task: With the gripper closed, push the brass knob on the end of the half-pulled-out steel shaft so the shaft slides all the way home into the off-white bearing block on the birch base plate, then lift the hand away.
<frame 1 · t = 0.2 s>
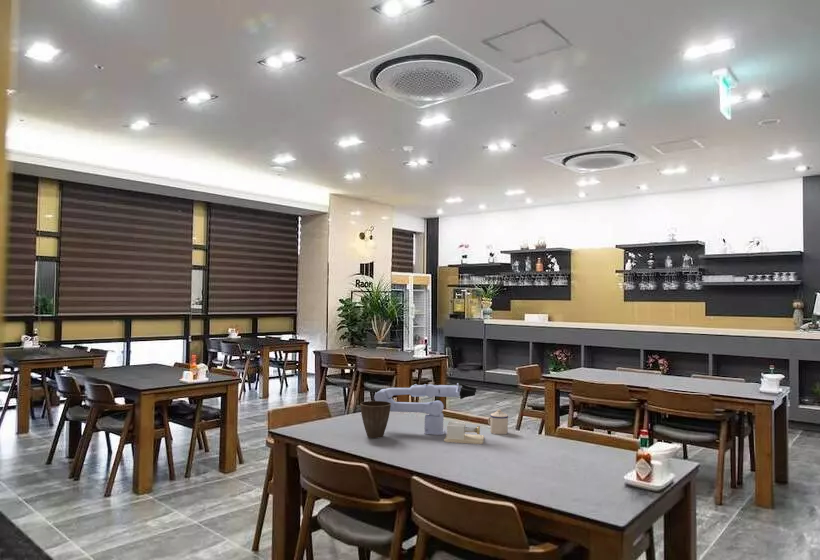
hand: (475, 391, 284), 22 cm above the table, tool horizontal, fingers open, 7 cm apart
bearing block: (456, 439, 275), on the table
shaft: (466, 429, 274), point 5 cm above the table, slide at 5.0 cm
plant pot: (374, 437, 277), on the table
teacup with lid: (496, 432, 291), on the table
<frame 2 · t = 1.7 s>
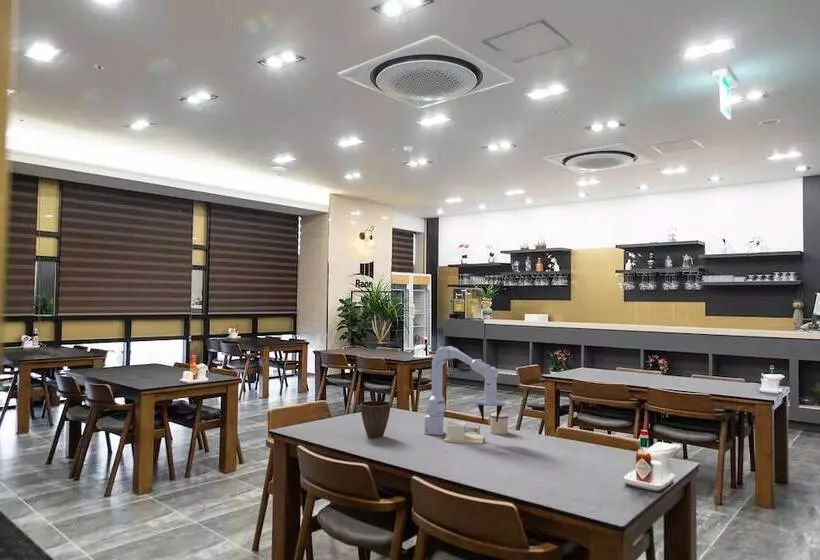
hand: (489, 421, 273), 9 cm above the table, tool pointing down, fingers open, 6 cm apart
nothing on the table moved.
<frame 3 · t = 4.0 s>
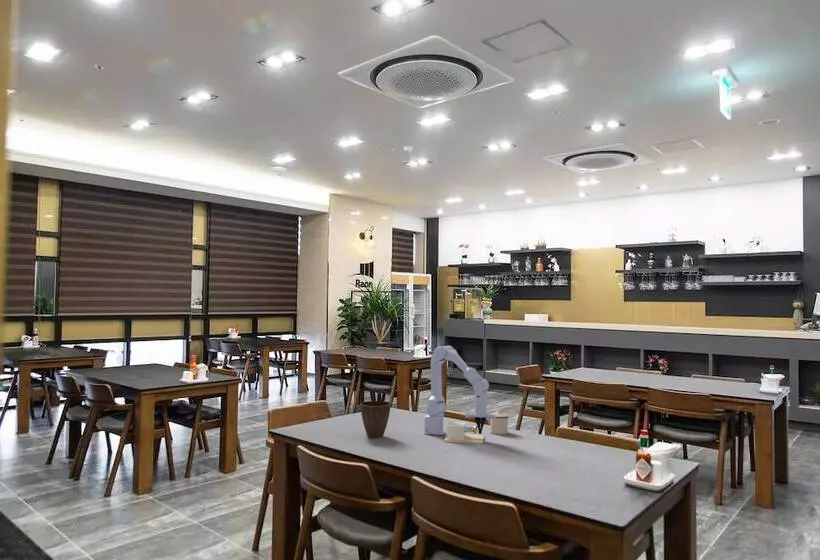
hand: (480, 433, 273), 3 cm above the table, tool pointing down, fingers closed
shaft: (464, 429, 275), point 5 cm above the table, slide at 3.7 cm, touching gripper
everything else where it was.
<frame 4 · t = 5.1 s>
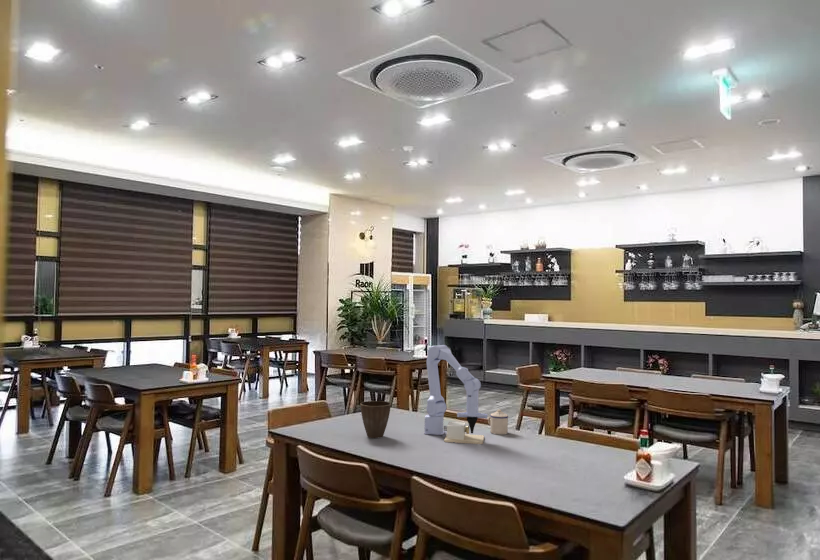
hand: (472, 432, 274), 3 cm above the table, tool pointing down, fingers closed
shaft: (456, 429, 275), point 5 cm above the table, slide at -0.1 cm, touching gripper
everything else where it was.
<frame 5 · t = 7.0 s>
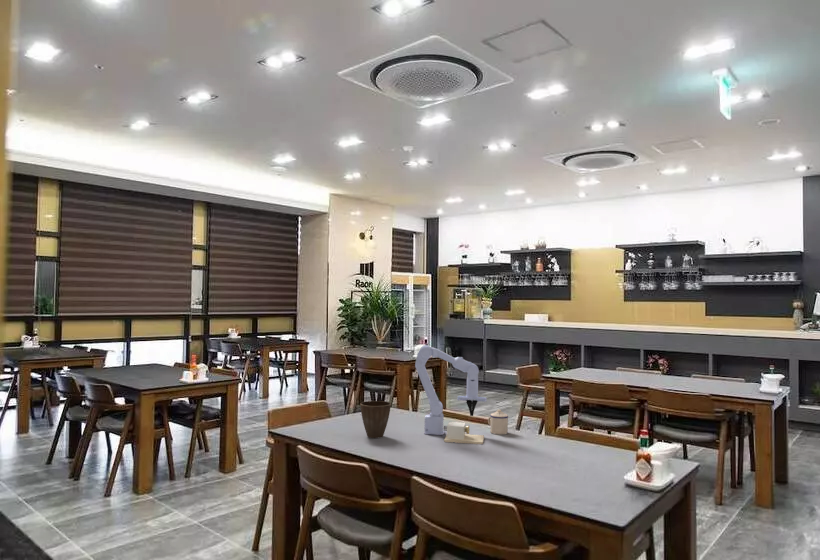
hand: (471, 415, 286), 9 cm above the table, tool pointing down, fingers closed
shaft: (456, 429, 275), point 5 cm above the table, slide at 0.0 cm
everything else where it was.
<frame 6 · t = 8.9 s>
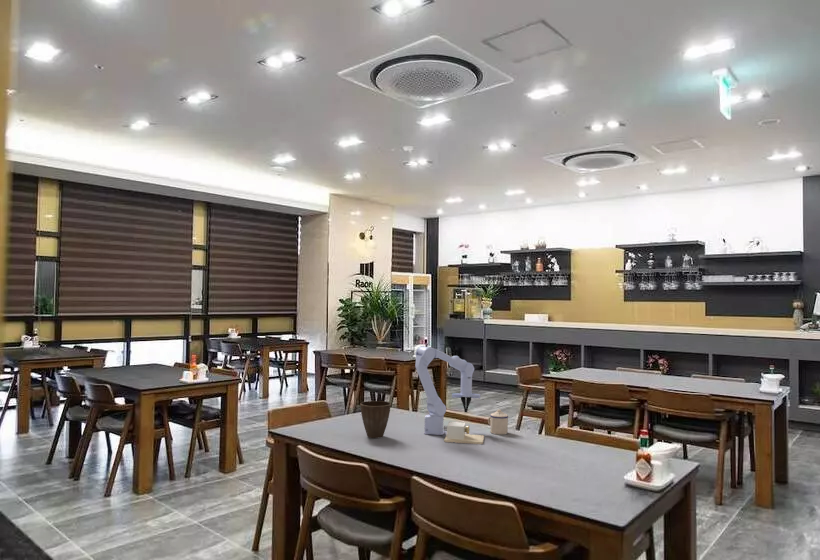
hand: (465, 412, 295), 9 cm above the table, tool pointing down, fingers closed
nothing on the table moved.
at the end: shaft slide at 0.0 cm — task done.
